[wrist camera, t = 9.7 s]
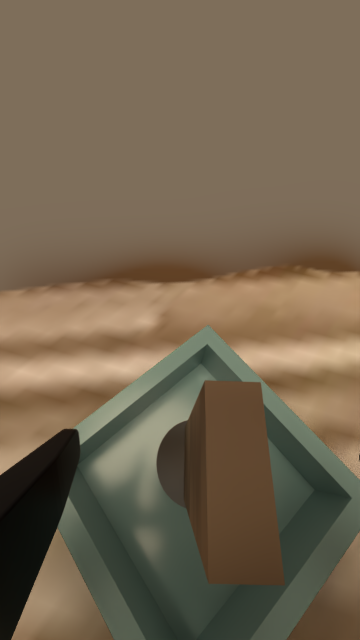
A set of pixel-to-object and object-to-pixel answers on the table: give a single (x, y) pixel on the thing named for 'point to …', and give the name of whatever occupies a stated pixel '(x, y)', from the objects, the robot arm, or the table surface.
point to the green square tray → (172, 519)
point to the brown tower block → (226, 483)
